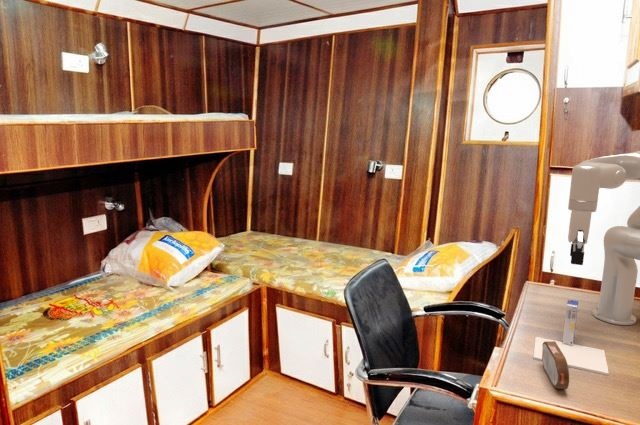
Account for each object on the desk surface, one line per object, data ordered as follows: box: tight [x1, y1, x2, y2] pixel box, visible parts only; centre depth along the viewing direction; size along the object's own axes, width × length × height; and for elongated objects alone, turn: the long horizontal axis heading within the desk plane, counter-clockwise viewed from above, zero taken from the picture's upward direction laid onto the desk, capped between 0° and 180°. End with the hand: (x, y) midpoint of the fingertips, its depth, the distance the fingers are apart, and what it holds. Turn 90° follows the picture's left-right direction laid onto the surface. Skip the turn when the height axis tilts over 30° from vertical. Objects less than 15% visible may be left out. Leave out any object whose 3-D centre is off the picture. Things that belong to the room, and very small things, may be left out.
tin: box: [541, 340, 570, 390], centre depth 117 cm, size 15×3×8 cm, turn 168°
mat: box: [532, 336, 610, 376], centre depth 130 cm, size 14×18×1 cm
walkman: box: [561, 298, 579, 346], centre depth 137 cm, size 8×3×12 cm, turn 148°
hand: (576, 260), depth 142 cm, fingers open, 8 cm apart
